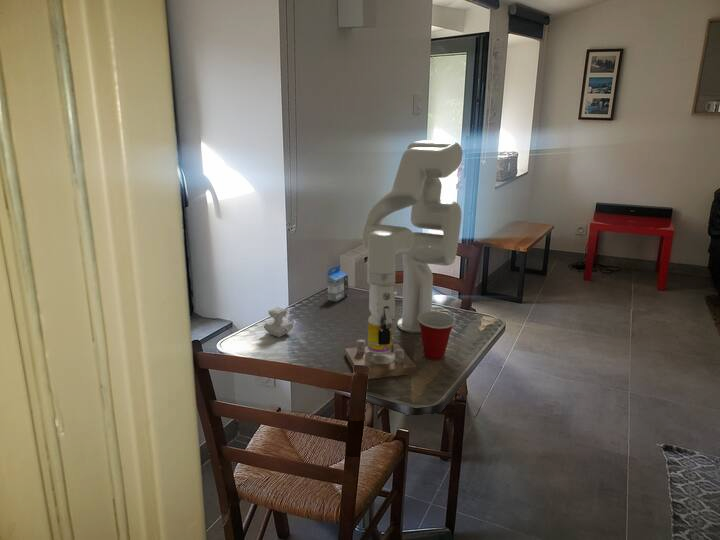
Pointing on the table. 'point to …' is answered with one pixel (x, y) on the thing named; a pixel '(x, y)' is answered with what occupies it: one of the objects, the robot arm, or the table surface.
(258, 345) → the table surface
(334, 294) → the label tape box
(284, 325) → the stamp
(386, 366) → the stub board
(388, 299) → the robot arm
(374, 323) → the supplement bottle
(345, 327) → the table surface
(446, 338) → the plastic cup
